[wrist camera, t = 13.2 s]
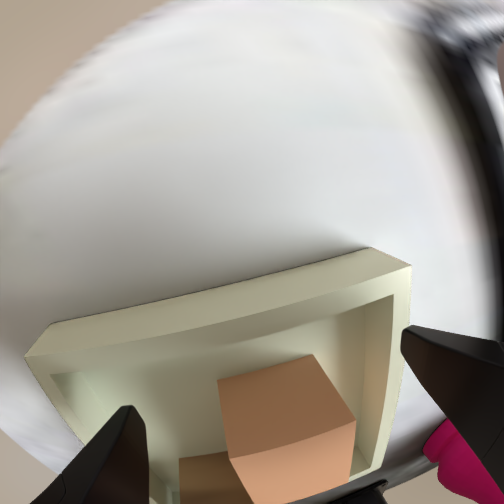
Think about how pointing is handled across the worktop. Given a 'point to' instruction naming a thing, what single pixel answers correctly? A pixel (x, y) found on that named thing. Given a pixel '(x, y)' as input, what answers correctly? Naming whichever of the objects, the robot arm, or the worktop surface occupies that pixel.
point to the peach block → (287, 431)
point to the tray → (233, 356)
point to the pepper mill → (460, 466)
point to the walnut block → (210, 481)
